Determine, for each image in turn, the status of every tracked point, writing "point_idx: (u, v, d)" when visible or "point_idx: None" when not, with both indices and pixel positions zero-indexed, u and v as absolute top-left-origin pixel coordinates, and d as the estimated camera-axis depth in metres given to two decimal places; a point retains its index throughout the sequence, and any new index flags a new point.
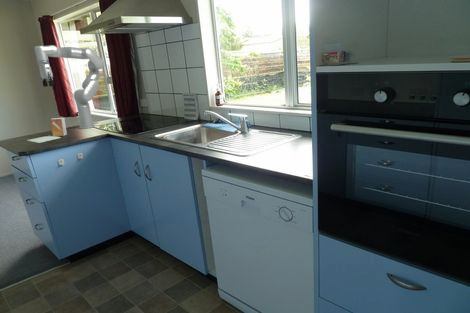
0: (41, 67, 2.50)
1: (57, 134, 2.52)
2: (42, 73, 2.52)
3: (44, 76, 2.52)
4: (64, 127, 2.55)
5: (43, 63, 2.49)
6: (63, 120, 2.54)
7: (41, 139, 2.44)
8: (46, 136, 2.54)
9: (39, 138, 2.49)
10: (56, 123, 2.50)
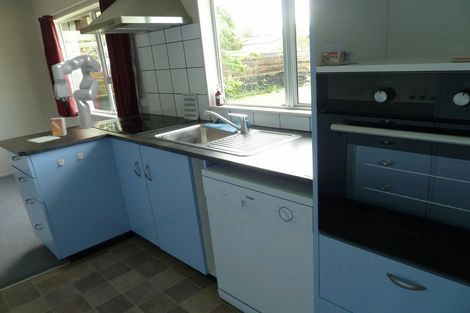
0: (63, 85, 2.51)
1: (57, 134, 2.52)
2: (64, 91, 2.52)
3: (66, 94, 2.54)
4: (64, 127, 2.55)
5: (66, 81, 2.53)
6: (63, 120, 2.54)
7: (41, 139, 2.44)
8: (46, 136, 2.54)
9: (39, 138, 2.49)
10: (56, 123, 2.50)
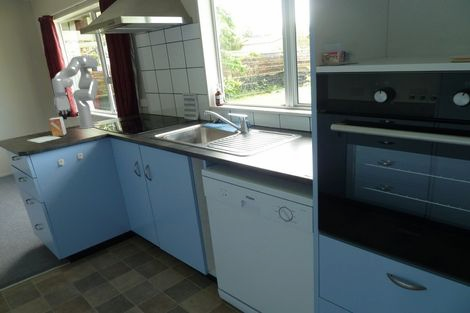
0: (63, 99, 2.52)
1: (57, 133, 2.52)
2: (63, 104, 2.53)
3: (66, 107, 2.54)
4: (63, 127, 2.54)
5: (65, 95, 2.54)
6: (61, 119, 2.52)
7: (41, 139, 2.44)
8: (46, 136, 2.54)
9: (39, 138, 2.49)
10: (55, 123, 2.49)
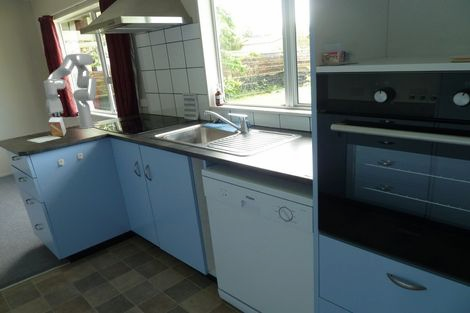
0: (55, 101, 2.48)
1: (57, 134, 2.51)
2: (56, 107, 2.49)
3: (58, 109, 2.51)
4: (63, 127, 2.52)
5: (58, 97, 2.50)
6: (61, 121, 2.48)
7: (41, 139, 2.44)
8: (46, 136, 2.54)
9: (39, 138, 2.49)
10: (55, 125, 2.46)
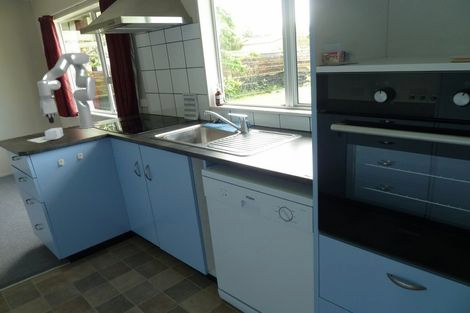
0: (49, 102, 2.45)
1: None
2: (50, 108, 2.45)
3: (52, 110, 2.47)
4: (60, 132, 2.47)
5: (52, 97, 2.47)
6: (57, 134, 2.41)
7: (41, 139, 2.44)
8: None
9: (39, 138, 2.49)
10: None
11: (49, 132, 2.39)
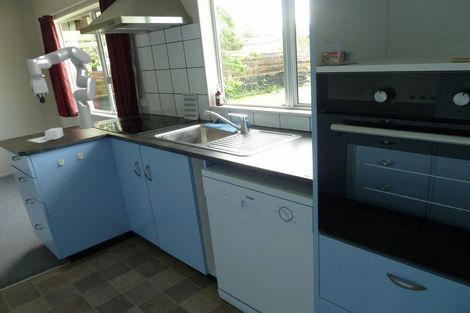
0: (40, 81, 2.38)
1: None
2: (40, 87, 2.39)
3: (43, 90, 2.41)
4: (60, 132, 2.47)
5: (42, 77, 2.40)
6: (57, 134, 2.41)
7: (41, 139, 2.44)
8: None
9: (39, 138, 2.49)
10: None
11: (49, 132, 2.39)
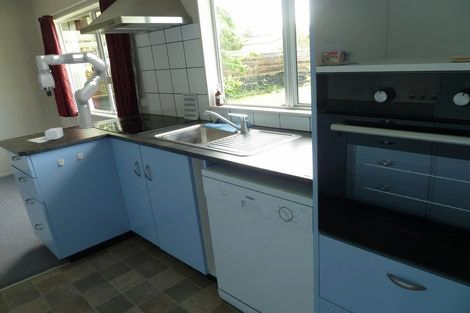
0: (47, 76, 2.58)
1: None
2: (48, 81, 2.59)
3: (50, 84, 2.61)
4: (60, 132, 2.47)
5: (49, 72, 2.60)
6: (57, 134, 2.41)
7: (41, 139, 2.44)
8: None
9: (39, 138, 2.49)
10: None
11: (49, 132, 2.39)
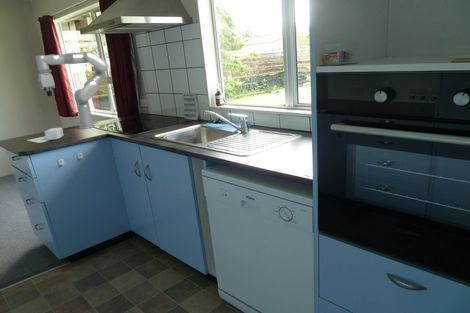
0: (47, 75, 2.59)
1: None
2: (48, 81, 2.59)
3: (50, 84, 2.61)
4: (60, 132, 2.47)
5: None
6: (57, 134, 2.41)
7: (41, 139, 2.44)
8: None
9: (39, 138, 2.49)
10: None
11: (49, 132, 2.39)
